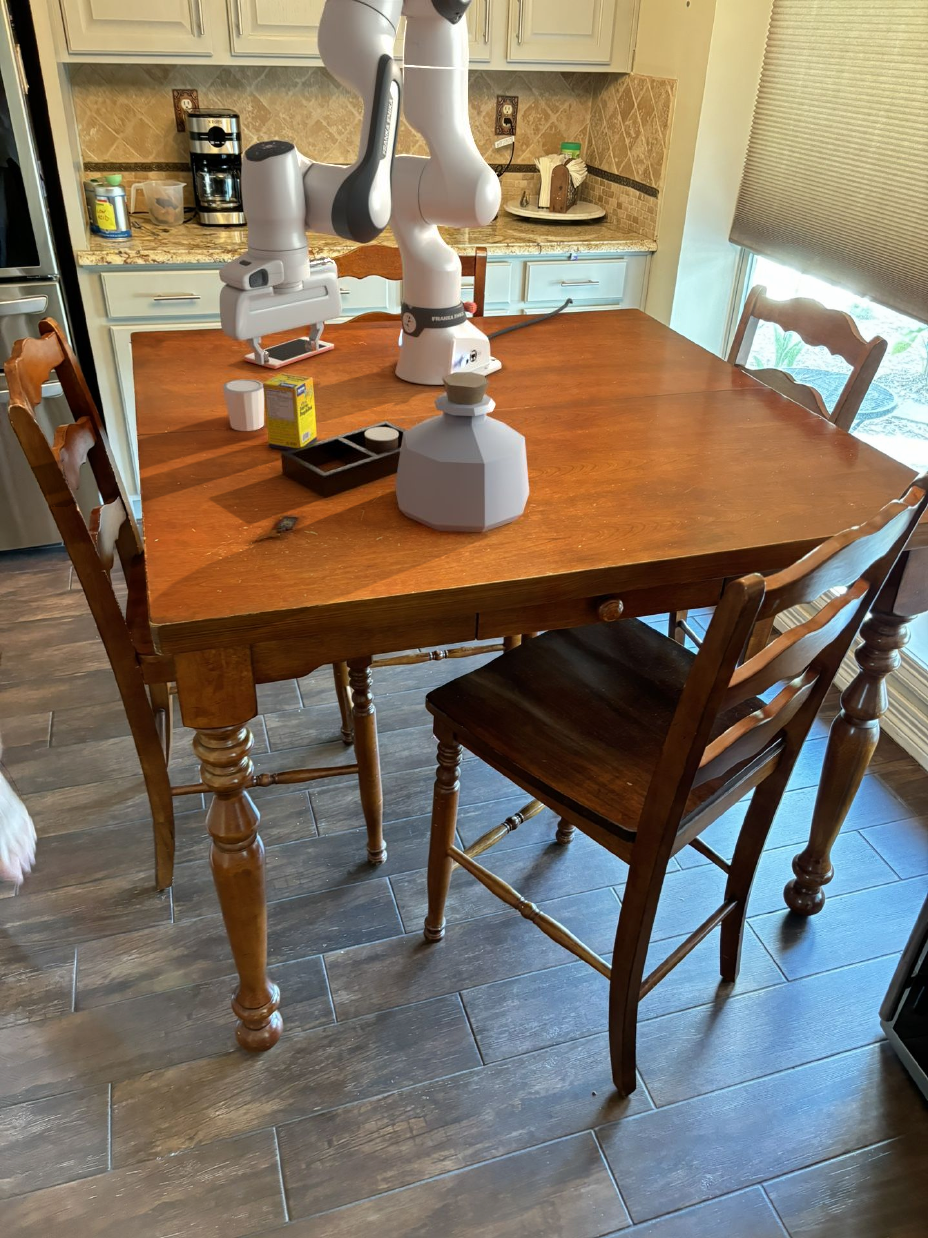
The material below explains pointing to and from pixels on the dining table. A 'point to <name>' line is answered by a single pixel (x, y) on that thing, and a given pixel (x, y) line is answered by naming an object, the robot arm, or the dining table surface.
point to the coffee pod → (381, 439)
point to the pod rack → (347, 450)
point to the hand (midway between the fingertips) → (287, 356)
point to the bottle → (462, 463)
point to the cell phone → (289, 352)
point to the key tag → (281, 527)
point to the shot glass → (245, 404)
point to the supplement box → (290, 411)
